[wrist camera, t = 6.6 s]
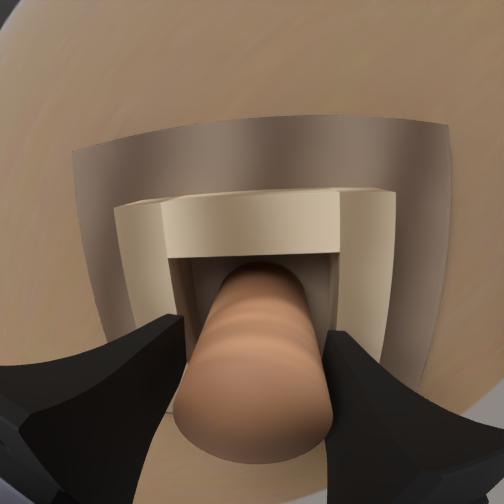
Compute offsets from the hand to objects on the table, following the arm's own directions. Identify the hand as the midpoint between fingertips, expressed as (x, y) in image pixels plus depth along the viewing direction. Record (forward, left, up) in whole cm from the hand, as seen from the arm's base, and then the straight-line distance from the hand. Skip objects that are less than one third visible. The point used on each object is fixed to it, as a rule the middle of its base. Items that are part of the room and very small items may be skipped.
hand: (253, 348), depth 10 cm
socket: (0, 0, -5) cm, 5 cm away
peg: (0, 0, -3) cm, 3 cm away
